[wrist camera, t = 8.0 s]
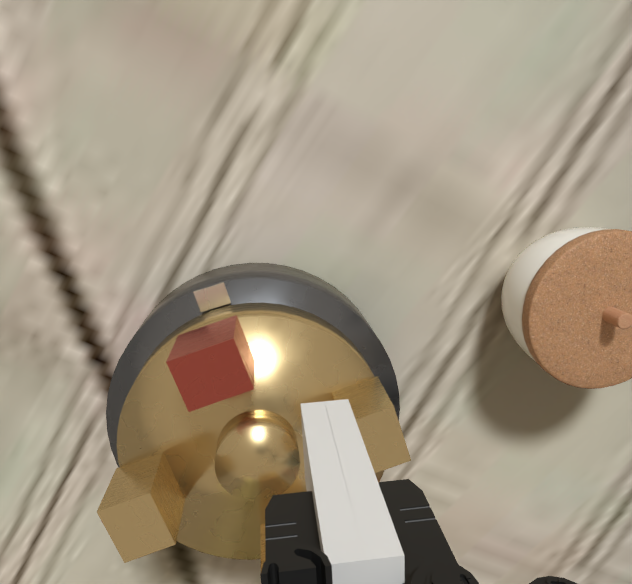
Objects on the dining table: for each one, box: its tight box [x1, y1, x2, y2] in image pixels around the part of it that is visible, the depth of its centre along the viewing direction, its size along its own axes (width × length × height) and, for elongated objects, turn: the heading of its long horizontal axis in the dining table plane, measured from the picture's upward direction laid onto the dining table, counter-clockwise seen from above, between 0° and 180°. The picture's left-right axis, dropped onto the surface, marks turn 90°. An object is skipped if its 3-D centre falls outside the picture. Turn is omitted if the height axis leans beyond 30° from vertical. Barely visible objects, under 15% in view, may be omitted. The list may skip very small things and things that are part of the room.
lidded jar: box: [501, 227, 632, 389], centre depth 36 cm, size 11×11×9 cm
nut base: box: [106, 263, 400, 467], centre depth 38 cm, size 20×20×5 cm
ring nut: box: [97, 303, 411, 571], centre depth 32 cm, size 17×17×7 cm
